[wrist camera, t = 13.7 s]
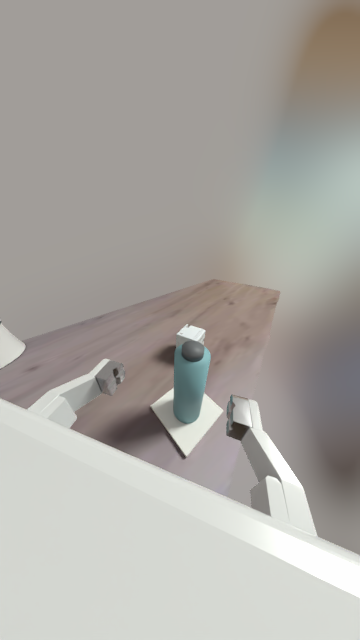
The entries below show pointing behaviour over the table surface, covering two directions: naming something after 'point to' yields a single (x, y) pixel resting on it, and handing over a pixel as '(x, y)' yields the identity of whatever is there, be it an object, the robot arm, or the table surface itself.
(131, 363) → the table surface
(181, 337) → the skincare box
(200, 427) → the coaster
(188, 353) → the bottle
